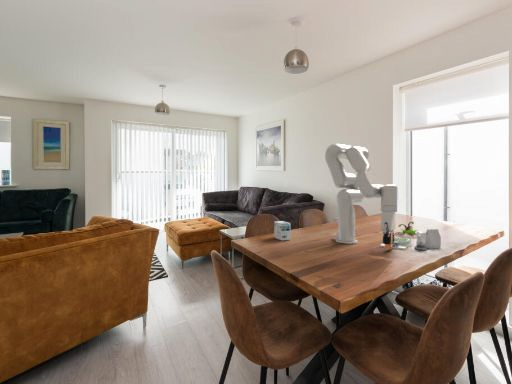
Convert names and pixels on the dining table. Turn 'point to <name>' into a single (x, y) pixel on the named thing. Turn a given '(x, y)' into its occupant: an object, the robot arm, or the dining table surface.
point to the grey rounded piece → (421, 241)
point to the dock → (399, 243)
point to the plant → (407, 232)
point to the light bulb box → (282, 230)
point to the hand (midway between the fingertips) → (388, 242)
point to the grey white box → (432, 239)
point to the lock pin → (390, 241)
